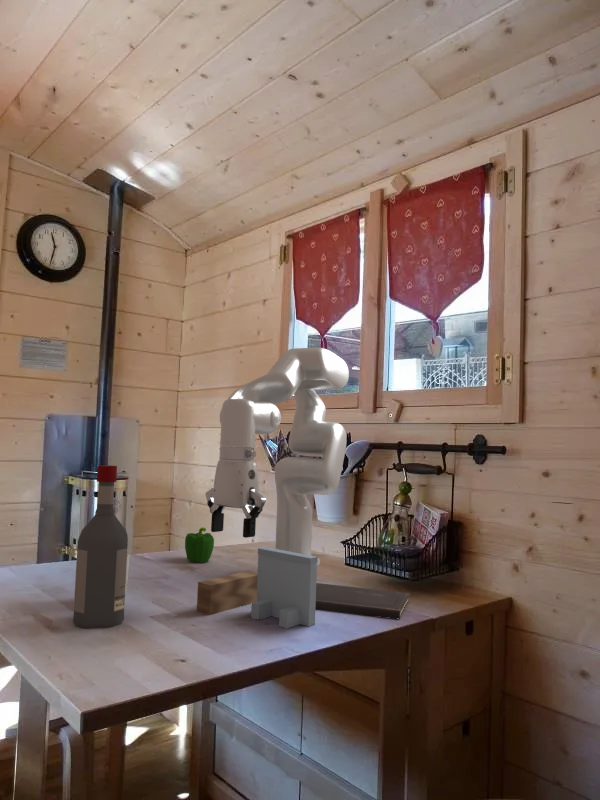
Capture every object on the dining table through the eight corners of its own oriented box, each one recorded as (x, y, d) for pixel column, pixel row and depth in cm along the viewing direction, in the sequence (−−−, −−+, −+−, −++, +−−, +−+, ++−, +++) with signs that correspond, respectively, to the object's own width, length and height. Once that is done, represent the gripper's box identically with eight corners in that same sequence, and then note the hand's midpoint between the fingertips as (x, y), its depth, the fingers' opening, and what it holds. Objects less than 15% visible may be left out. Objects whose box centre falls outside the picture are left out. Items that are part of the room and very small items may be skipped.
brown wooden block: (249, 597, 140) (250, 570, 140) (262, 600, 138) (263, 573, 138) (196, 611, 127) (198, 581, 128) (209, 615, 125) (211, 585, 125)
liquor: (72, 629, 113) (81, 466, 115) (75, 615, 122) (84, 464, 123) (123, 627, 115) (131, 467, 117) (123, 613, 124) (131, 465, 126)
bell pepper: (182, 559, 180) (184, 524, 180) (210, 558, 182) (211, 524, 183) (185, 565, 172) (187, 529, 172) (215, 564, 174) (216, 528, 175)
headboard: (263, 609, 130) (265, 546, 131) (315, 623, 122) (317, 556, 122) (242, 615, 125) (245, 550, 126) (296, 630, 117) (298, 560, 118)
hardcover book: (314, 592, 149) (314, 582, 149) (409, 603, 142) (409, 593, 142) (294, 609, 134) (294, 598, 134) (399, 622, 127) (399, 611, 127)
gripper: (277, 457, 132) (273, 537, 131) (221, 454, 143) (217, 528, 141) (254, 456, 126) (249, 540, 125) (197, 453, 137) (192, 530, 135)
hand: (232, 534), depth 133 cm, fingers open, 9 cm apart
